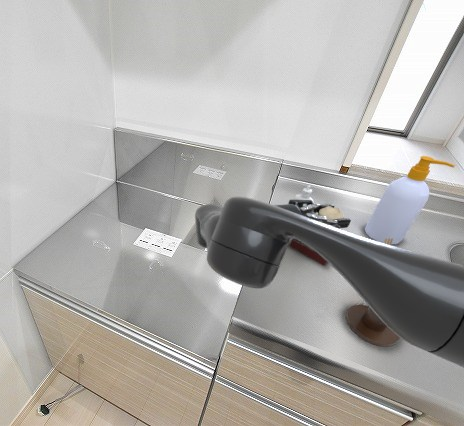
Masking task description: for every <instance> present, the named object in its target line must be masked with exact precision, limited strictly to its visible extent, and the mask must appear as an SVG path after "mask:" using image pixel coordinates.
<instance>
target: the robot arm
mask: <svg viewBox="0 0 464 426" xmlns="http://www.w3.org/2000/svg"><path fill="white" fill-rule="evenodd" d="M312 200H313V199H312ZM312 200H293V199H289V200H288V202H287V204H272V203H268V202H265V201H262V200H260V199H255V198H252V197H246V196H231V197H229V198H228V199H227V200H225V203H224V204H223V207H222V206H221V205H219V204H216V203H215V204H214V203H205V204H203V205H200V206H199V207H198V208H197V209H196V210H195V214H194V218H195V219H194V220H195V232H196V233H195V235H196V242H197V244H198V245H199V246H200V247H202V248H204V249H206V253H207V254H206V261H207V262H206V263H207V264H208V266H209V267H210V268H211V269H212V270H213V271H214V272H215V273H216V274H217V275H218V276H220V277H222V278H224V279H226V280H228V281H230V282H232V283H235V284H237V285H240V286H243V287H247V288H250V289H264V288H267V287H268V286H270V285H271V283H272V282H273V281H274V279H275V278H276V275H277V273H278V272H279V269H280V266H281V264H282V262H283V259H284V256H285V254H286V251H287V249H288V246H289V244H290V242H291V240H292V239H296V240H299V241H298V242H299V243H301V244H303V245H305V246H306V247H308V248H310V249H312V250H314V251H315V252H317V253H318V254H319V255H320V256H321V257H323V258H324V259H325V260H326V261H327V262H328V263H327V264H329V265H330V266H331V267H332V268H333V269H334V270H335V271H336V272H338V274H339V275H340V276H342V277H343V279H345V281H346V282H347V283H348V284H349V285H350V286H351V287H352V288H353V290H354V291H355V292H356V293H357V295H358V296H359V297H360V298H361V300H363V302H364V303H365V305H367V306H369V307H370V308H371V310H372V311H373V312H374V313H375V314H376V315H377V316H378V317H379V318H380V320H381V321H382V322H383V323H384V324H385V325H386V326H387V327H388V328H389V329H390V330H392V331H393V332H394V333H395V334H396V335H397V336H399V337H400V339H401V340H402V341H404V342H406V343H408V344H409V345H411V346H413V347H416V348H418V349H420V350H423V351H425V352H427V353H429V354H432V355H434V356H436V357H439V358H441V359H444V360H445V361H447V362H449V363H452V364H455V365H457V366H459V367H462V368H464V265H462V264H459V263H456V262H452V261H448V260H444V259H441V258H437V257H433V256H430V255H427V254H424V253H423V254H422V253H419V252H416V251H413V250H409V249H405V248H402V247H399V246H395V245H393V244H391V245H388V244H385V243H381V242H378V241H376V240H374V239H372V238H369V237H365V236H362V235H358V234H355V233H353V232H349V231H347V230H343V229H347V228H348V227H349V226H350V223H351V222H352V220H351V219H350V218H349V217H344V218H343V219H335V220H334V219H327V218H326V217H325V216H318V213H319V210H320V209H322V208H325V207H328V206H331V207H333V208H335V205H334V204H333V203H323V204H319V203H315V202H314V203H313V201H314V200H313V201H312ZM303 204H307V205H306V206H303ZM319 220H321V222H319ZM326 223H330V225H327V224H326Z"/></svg>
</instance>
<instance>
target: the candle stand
mask: <svg viewBox="0 0 464 426" xmlns="http://www.w3.org/2000/svg"><path fill="white" fill-rule="evenodd" d="M345 320H346V323H347V325H348V327H349V328H350V329H351V331H352V332H354V334H355V335H356V336H357V337H359V338H361V340H363V341H365V342H366V343H369V344H371V345H374V346H377V347H383V348H384V347H387V348H388V347H392V346H394V345H396V344H397V343H398V342H399V340H400V339H401V338H400V337H399V336H397V335H396V334H395V333H394V332H393V331H392V330H390V329H389V328H388V327H387V326H386V325H385V324H384V323H383V322H382V321H381V320H380V318H379V317H378V316H377V315H376V314H375V313H374V312H373V311H372V310H371V308H370V307H369V306H368V305H367V304H355V305H352V306H350V308H349V309H348V310H347V312H346V314H345Z"/></svg>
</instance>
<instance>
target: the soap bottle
mask: <svg viewBox="0 0 464 426" xmlns="http://www.w3.org/2000/svg"><path fill="white" fill-rule="evenodd" d="M431 164H433V165H441V166H442V165H443V166H446V167H450V168H455V166H456V165H455V164H453V163H450V162H447V161H444V160H439V159H434V157H431V156H428V155H427V156H426V155H421V156H420V159H419V161H418V163H416V164H415V165H413V166H411V167H410V169H409V171H408V173H407V174H406V176H402V177H399V178H396V179H395V180H393V181H391V182H390V183H389V184H388V185H387V186H386V188H385V190H384V192H383V193H382V195H381V197H380V199H379V201H378V203H377V205H376V207H375V209H374V210H373V213H372V214H371V216H370V218H369V220H368V221H367V223H366V226H365V228H364V231H365V233H366V235H367V236H368V238H370V239H371V240H375V241H378V242H381V243H384V242H385V239H386V238H387V242H388V239H389V238H390V241H391V239H392V238H393V241H392V244H391V245H398V244H399V243H401V242H402V241H403V239H404V237H405V236H406V235H407V233H408V231H409V230H410V228H411V227H412V226H413V224H414V222H415V221H416V219H417V217H418V216H419V214H420V213H421V212H422V210H423V208H424V207H425V205H426V203H427V202H428V200H429V198H430V189H429V186H428V184H427V183H426V182H425V180H426V179H427V177H428V175H430V172H431V170H430V165H431ZM390 241H389V244H390ZM387 242H386V244H387Z"/></svg>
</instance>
